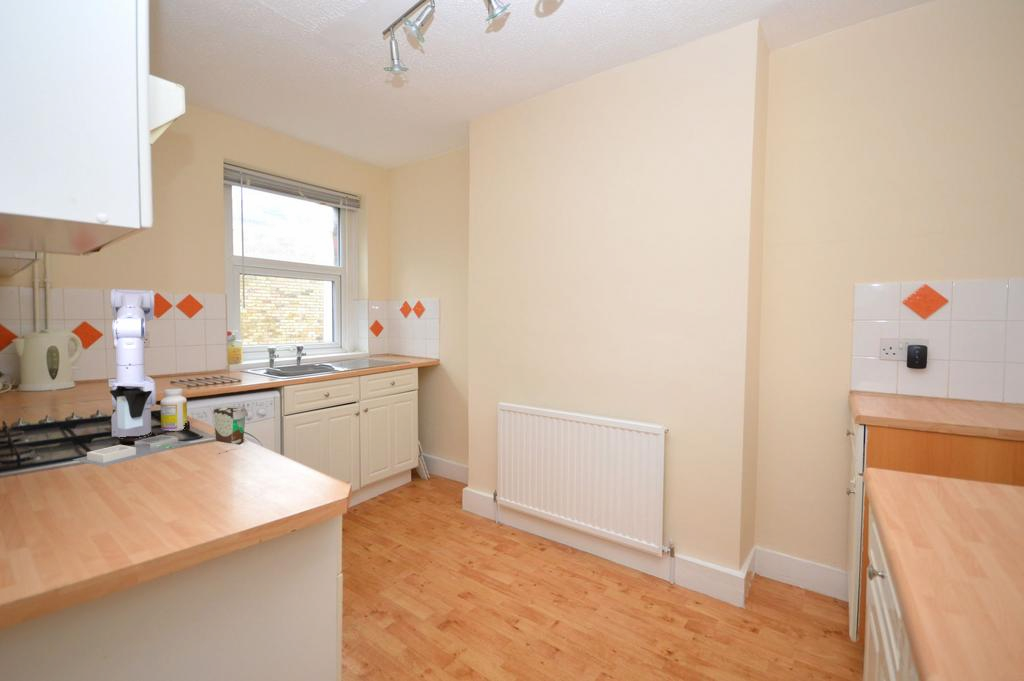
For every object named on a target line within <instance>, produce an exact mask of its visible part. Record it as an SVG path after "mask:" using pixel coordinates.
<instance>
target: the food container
mask: <svg viewBox="0 0 1024 681" xmlns="http://www.w3.org/2000/svg"><path fill="white" fill-rule="evenodd" d="M212 415H213V427H214V441H215V442H219V443H220V442H221V443H224V444H225V443H226V444H232V445H238V446H240V445H242V444H244V438H245V437H244V436H245V425H246V424H245V423H246V417H248V416H249V414H248V410H247V408H246V407H245V406H241V405H220V406H213V407H212Z"/></svg>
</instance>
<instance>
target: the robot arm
mask: <svg viewBox="0 0 1024 681" xmlns="http://www.w3.org/2000/svg"><path fill="white" fill-rule="evenodd" d="M110 306H111V310H112V316H113V320H112V323H111V324H112V326H111V329H112V331H111V332H112V338H113V343H114V344H113V345H114V348H115V352H114V353H115V378H111V379H109V378H108V387H109V388H111V390H109V393H110V394H111V404H112V406H111V407H112V408H114V409H115V410H114V411H113V414H112V415H111V418H110V420H111V437H116V438H117V437H118V438H119V439H121V438H120V437H126V436H140V435H145V434H148V433H150V432H151V433H152V413H151V412H152V410H151V409H152V406H155V405H156V404H157V386H156V381H155V379H154V378H152V377H150V376H149V375H147V374H146V367H145V366H146V362H145V361H146V359H145V358H146V357H145V355H146V353H145V352H146V350H145V340H146V338H147V322H149V321H152V320H153V319H154V316H155V292H154V291H153V290H152V289H150V290H147V289H146V290H145V289H144V290H143V289H141V290H140V289H120V288H119V289H118V288H113V289H112V290H111V291H110ZM120 396H125V397H126V399H127V402H128V405H129V412H130V416H131V418H136V417H141V416H142V415H143V426H138V427H134V428H129V429H121V428H118V422H117V397H120Z"/></svg>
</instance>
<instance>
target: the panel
mask: <svg viewBox="0 0 1024 681" xmlns="http://www.w3.org/2000/svg"><path fill="white" fill-rule="evenodd" d="M192 444H193V442H189V441H183V440H178V444H175V445H171V448H166V447H163V448H159V449H155V450H151V451H149V450H144V449H138V448H136V455H132V456H128V457H124V458H120V459H116V460H112V461H108V462H105V463H102V462H97V461H92V460H87V455H86V456H82V457H78V458H73V459H72V461H75V462H76V461H77V462H81V463H86V464H91V465H94V466H95V465H96V466H99V467H108V466H112V465H115V464H119V463H123V462H127V461H130V460H134V459H139V458H141V457H142V458H143V457H145V456H149V455H153V454H157V453H161V452H164V451H169V450H171V449H176V448H180V447H185V446H187V445H192ZM129 446H130V447H135V444H133V445H129Z"/></svg>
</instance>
